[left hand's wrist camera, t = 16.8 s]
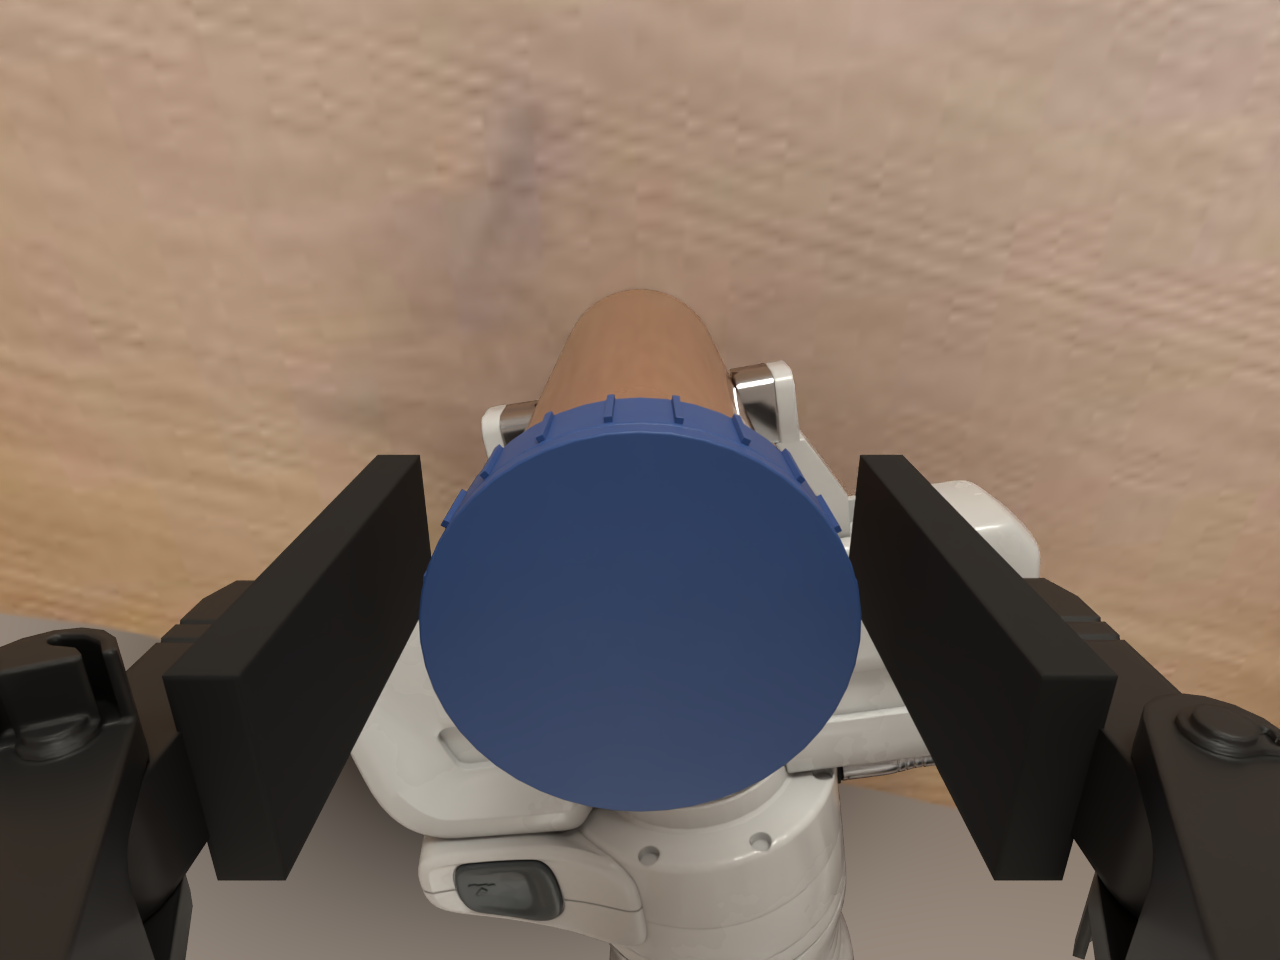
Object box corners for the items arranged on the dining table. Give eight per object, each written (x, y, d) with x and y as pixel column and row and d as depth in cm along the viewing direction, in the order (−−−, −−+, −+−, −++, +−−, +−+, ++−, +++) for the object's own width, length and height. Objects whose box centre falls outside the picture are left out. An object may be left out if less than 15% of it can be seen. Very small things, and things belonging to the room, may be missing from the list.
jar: (645, 467, 28) (652, 807, 12) (532, 372, 26) (388, 622, 11) (747, 361, 26) (895, 599, 11) (634, 255, 25) (625, 359, 10)
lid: (911, 483, 11) (954, 529, 10) (736, 785, 13) (749, 863, 12) (519, 324, 10) (497, 348, 9) (396, 673, 12) (362, 742, 11)
